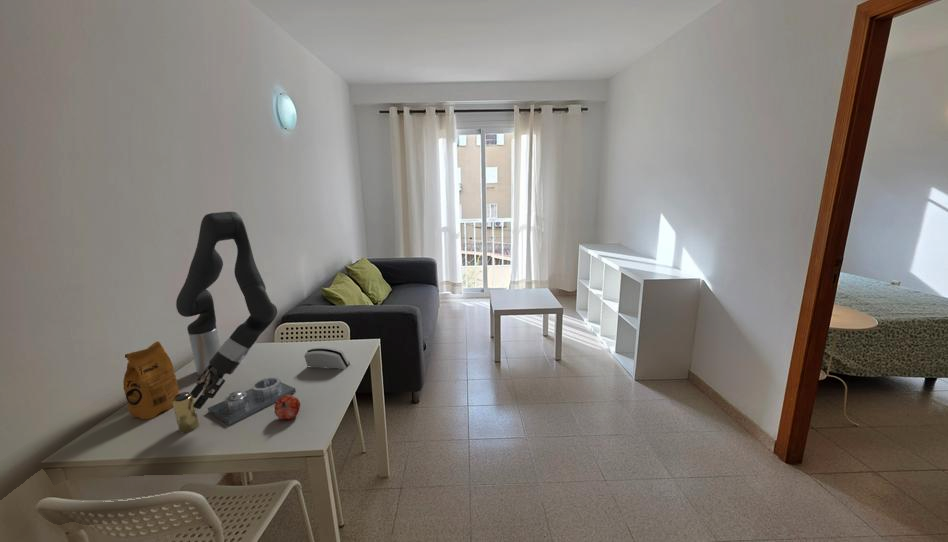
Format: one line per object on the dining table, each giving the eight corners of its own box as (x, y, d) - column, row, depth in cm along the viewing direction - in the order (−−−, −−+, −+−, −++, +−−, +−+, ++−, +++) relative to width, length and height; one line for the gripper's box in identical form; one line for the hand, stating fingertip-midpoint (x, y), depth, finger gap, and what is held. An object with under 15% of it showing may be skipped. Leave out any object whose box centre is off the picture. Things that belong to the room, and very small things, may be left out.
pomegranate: (280, 419, 125) (263, 416, 116) (288, 395, 128) (272, 391, 119) (302, 422, 124) (287, 420, 115) (309, 398, 127) (294, 394, 118)
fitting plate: (208, 412, 126) (205, 397, 125) (273, 382, 144) (271, 369, 143) (229, 425, 119) (226, 409, 118) (295, 392, 137) (293, 377, 135)
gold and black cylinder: (176, 429, 118) (168, 396, 115) (194, 421, 122) (187, 389, 119) (183, 434, 115) (175, 401, 113) (202, 425, 119) (195, 393, 117)
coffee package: (125, 418, 125) (108, 355, 120) (163, 398, 137) (149, 339, 132) (148, 422, 122) (132, 357, 118) (186, 400, 134) (172, 341, 129)
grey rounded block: (351, 363, 157) (344, 345, 152) (346, 372, 153) (338, 354, 148) (314, 361, 160) (306, 343, 155) (308, 370, 157) (299, 352, 151)
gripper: (214, 344, 126) (178, 389, 121) (223, 357, 116) (184, 407, 111) (236, 354, 131) (202, 398, 126) (246, 367, 120) (209, 415, 115)
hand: (194, 402), depth 118 cm, fingers open, 8 cm apart
